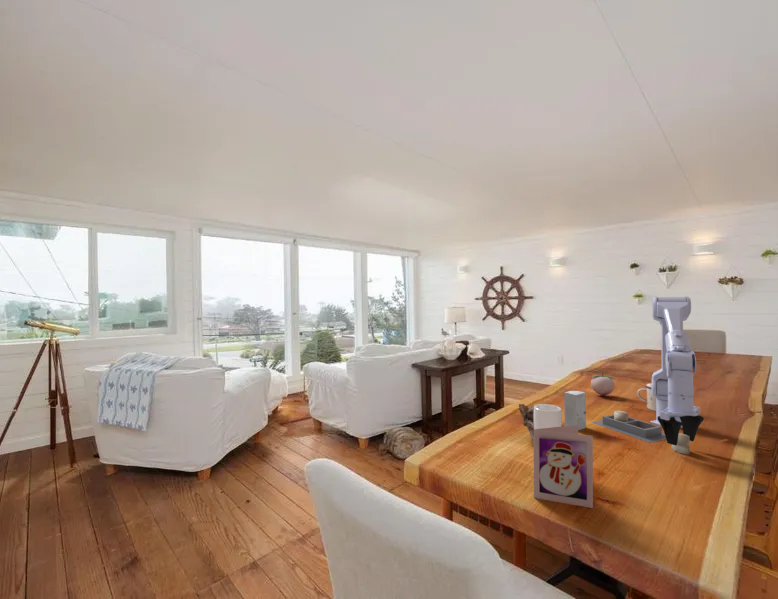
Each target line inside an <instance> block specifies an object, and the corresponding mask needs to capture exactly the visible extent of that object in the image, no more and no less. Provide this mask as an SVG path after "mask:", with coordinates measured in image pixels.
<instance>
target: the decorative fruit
mask: <svg viewBox="0 0 778 599" xmlns="http://www.w3.org/2000/svg"><path fill="white" fill-rule="evenodd" d="M590 378H592V379H591V381H590V387H591V388H592V390H593V392H595V393H596V394H598V395H600V396H602V397H605V396H608V395H610V394H611V393H612V392H613V391H614V390H615V385H616V384H615V380H616V379H615V378H614V377H612V376H610V375H604V373H602V375H599V374H595V375H592V376H591V377H590Z"/></svg>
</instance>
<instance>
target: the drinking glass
mask: <svg viewBox="0 0 778 599" xmlns="http://www.w3.org/2000/svg"><path fill="white" fill-rule="evenodd" d="M534 405H535V406H534V429H542V428H551V427H561V426H563V425H562V424H563V423H562V422H563V421H562V419H563V418H562V416H563V414H562V407H561V406H560V407H559V406H558V405H554V404H549V403H538V404H537V403H536V404H534Z"/></svg>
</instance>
